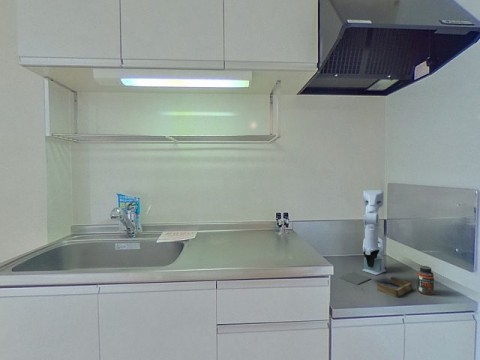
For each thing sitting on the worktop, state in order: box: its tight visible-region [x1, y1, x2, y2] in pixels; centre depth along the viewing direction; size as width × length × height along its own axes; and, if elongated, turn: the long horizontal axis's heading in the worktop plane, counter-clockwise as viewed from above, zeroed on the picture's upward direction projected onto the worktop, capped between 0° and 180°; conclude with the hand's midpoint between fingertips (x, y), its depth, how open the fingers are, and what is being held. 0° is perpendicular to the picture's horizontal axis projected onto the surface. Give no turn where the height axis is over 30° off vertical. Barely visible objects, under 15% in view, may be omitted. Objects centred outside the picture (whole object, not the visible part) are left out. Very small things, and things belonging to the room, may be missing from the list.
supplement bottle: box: [416, 265, 435, 296], centre depth 118 cm, size 6×6×11 cm
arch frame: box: [376, 276, 413, 298], centre depth 121 cm, size 13×9×3 cm
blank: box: [363, 257, 381, 272], centre depth 129 cm, size 4×7×5 cm, turn 52°
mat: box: [339, 271, 372, 286], centre depth 135 cm, size 11×10×1 cm
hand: (371, 265), depth 129 cm, fingers closed on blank, 4 cm apart
